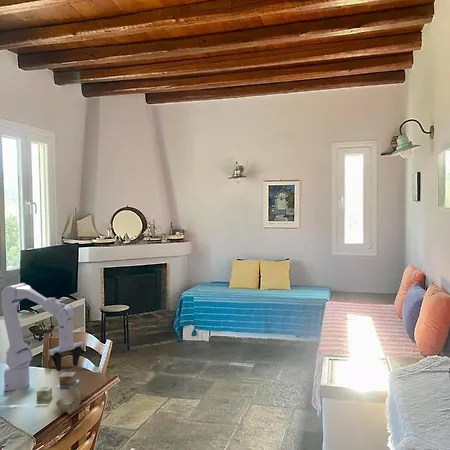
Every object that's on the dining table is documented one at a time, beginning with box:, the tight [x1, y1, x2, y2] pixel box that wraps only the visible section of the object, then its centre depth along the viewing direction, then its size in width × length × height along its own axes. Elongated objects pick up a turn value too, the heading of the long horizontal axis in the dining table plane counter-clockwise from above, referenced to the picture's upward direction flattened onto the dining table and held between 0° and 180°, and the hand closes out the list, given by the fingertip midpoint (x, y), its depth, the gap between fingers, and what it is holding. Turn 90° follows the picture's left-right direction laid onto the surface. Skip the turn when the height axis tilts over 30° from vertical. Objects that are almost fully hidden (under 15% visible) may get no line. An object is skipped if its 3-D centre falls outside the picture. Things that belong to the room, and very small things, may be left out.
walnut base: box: [58, 371, 77, 386], centre depth 195 cm, size 6×6×4 cm
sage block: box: [36, 385, 53, 402], centre depth 180 cm, size 4×4×4 cm
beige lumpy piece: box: [56, 387, 82, 415], centre depth 168 cm, size 9×6×10 cm
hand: (67, 368), depth 188 cm, fingers open, 7 cm apart
